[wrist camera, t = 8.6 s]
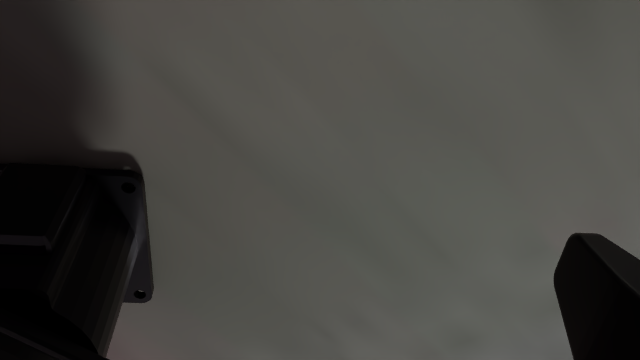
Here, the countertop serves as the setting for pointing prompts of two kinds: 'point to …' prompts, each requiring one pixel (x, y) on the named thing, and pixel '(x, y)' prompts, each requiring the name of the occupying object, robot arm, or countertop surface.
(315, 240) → the countertop surface
